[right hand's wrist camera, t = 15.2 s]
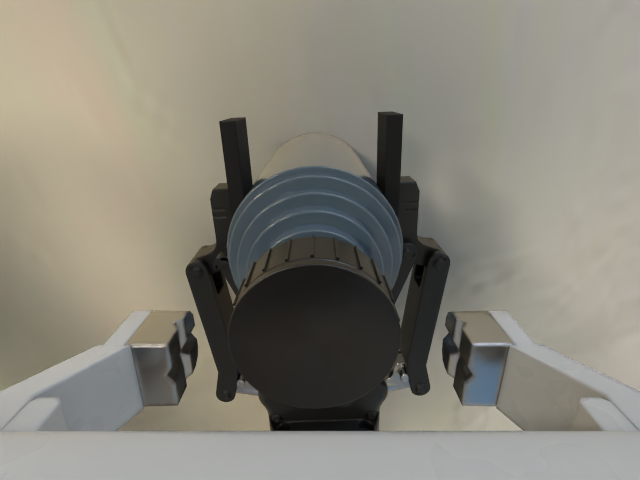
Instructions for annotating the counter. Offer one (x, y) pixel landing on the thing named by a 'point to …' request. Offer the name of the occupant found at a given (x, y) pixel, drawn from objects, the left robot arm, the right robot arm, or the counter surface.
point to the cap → (314, 324)
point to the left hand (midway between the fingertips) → (311, 116)
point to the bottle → (315, 206)
